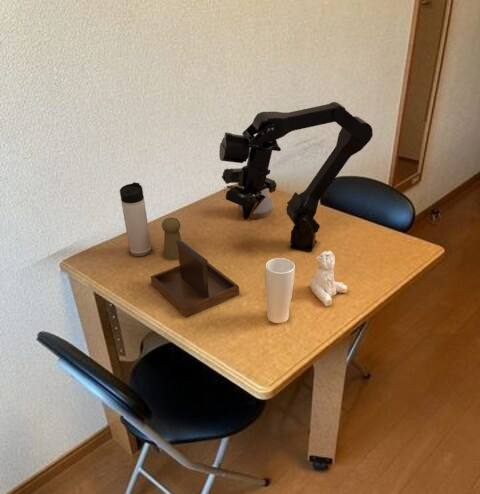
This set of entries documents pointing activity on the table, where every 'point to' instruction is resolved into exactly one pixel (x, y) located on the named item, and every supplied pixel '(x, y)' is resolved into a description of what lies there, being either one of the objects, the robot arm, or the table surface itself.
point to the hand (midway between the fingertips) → (245, 219)
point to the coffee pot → (262, 208)
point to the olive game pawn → (171, 237)
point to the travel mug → (135, 219)
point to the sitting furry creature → (326, 279)
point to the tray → (193, 283)
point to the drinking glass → (279, 288)
